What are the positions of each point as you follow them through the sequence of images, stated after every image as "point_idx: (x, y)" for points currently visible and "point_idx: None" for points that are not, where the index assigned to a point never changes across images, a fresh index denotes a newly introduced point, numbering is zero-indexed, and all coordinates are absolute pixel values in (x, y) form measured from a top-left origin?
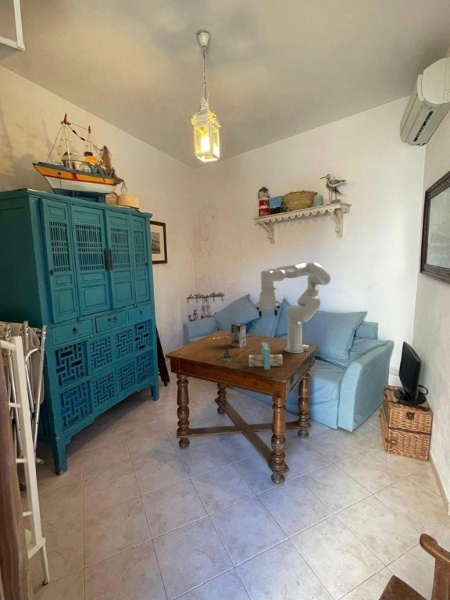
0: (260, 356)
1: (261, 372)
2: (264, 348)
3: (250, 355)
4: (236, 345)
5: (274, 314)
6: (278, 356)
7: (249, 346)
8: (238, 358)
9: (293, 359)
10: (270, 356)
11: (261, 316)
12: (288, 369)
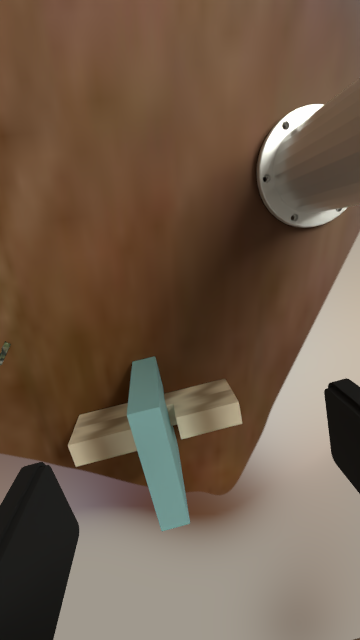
0: (132, 449)
1: None
2: (156, 510)
3: (77, 446)
4: None
5: (335, 399)
6: (222, 427)
7: (12, 110)
8: (5, 350)
9: (283, 316)
10: (182, 438)
11: (73, 545)
12: (250, 428)
